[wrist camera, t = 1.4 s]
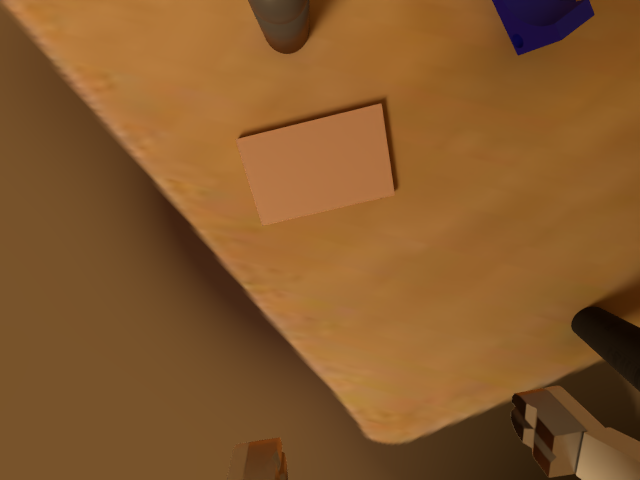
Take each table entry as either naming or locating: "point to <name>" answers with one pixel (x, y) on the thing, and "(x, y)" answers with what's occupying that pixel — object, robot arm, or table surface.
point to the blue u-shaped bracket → (541, 20)
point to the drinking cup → (611, 340)
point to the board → (318, 165)
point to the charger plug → (283, 23)
